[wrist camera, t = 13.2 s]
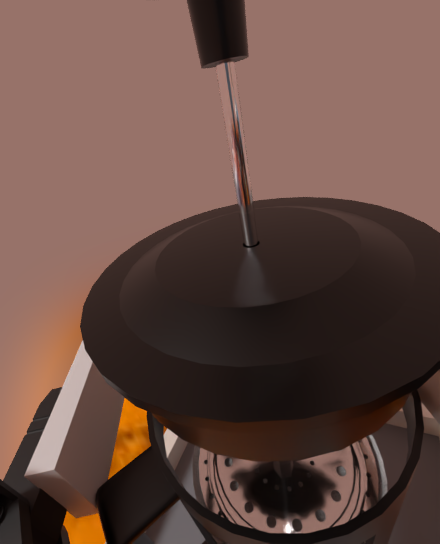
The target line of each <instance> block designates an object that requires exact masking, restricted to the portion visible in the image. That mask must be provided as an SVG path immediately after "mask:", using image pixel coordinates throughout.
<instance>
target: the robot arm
mask: <svg viewBox="0 0 440 544" xmlns="http://www.w3.org/2000/svg"><path fill="white" fill-rule="evenodd" d="M417 390H418V393H419V396H420V399H421V402H422V403H423V405H424V406H425V407H426V408H427V410H428V411H429V412H430V413H431V415H432V416H433V417H434V418H435V420H436V421H437V422H438V423H439V424H440V369H439V370H438V371H437V372H436V373H435V374H434V375H433V376H432V377H431V378H430V379H429V380H428V381H426V382H425V383H424V384H423V385H422V386H421V387H420V388H419V389H417ZM123 402H124V396H122V395H121V394H120V393H118V392H117V391H116V390H115V389H113V388H112V387H111V386H109V385H108V384H107V383H106V381H105V380H104V378H103V377H102V375H101V374H100V372H99V371H98V369H97V368H96V366H95V365H94V363H93V362H92V360H91V358H90V357H89V355H88V354H87V352H86V351H85V347H84V342H83V341H82V343H81V345H80V348H79V350H78V352H77V355H76V357H75V359H74V362H73V364H72V366H71V368H70V371H69V373H68V375H67V378H66V380H65V382H64V385H63V387H61V388H57V389H52V390H51V391H50V393H49V394H48V395H47V396H46V397H45V399H44V400H43V401H42V402H41V403H40V405H39V407H38V409H37V411H36V413H35V415H34V418H33V422H31V424H30V426H29V428H28V430H27V435H25V436H24V438H23V441H22V442H21V445H20V447H19V449H18V451H17V453H16V455H15V457H14V459H13V461H12V463H11V465H10V467H9V469H8V472H7V474H6V476H5V478H4V480H3V481H2V480H1V479H0V544H70V542H69V537H68V532H67V530H66V528H65V526H63V522H64V518H65V515H66V511H68V512H69V513H70V514H72V515H73V516H74V517H75V518H79V517H83V516H87V515H92V514H96V513H98V509H97V505H96V500H95V499H96V492H97V490H98V488H99V487H100V486H101V485H103V484H104V483H105V482H106V481H107V480H108V476H109V471H110V466H111V461H112V456H113V451H114V446H115V441H116V436H117V431H118V426H119V421H120V416H121V412H122V407H123Z"/></svg>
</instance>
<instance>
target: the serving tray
mask: <svg viewBox="0 0 440 544" xmlns="http://www.w3.org/2000/svg"><path fill="white" fill-rule="evenodd" d="M421 405H422V413H423V422H424V433H423V440H422V446H421V453H420V459H419V461H418V464H417V467H416V469H415V472H414V475H413V477H412V480H411V483H410V485H409V488H408V491H407V493H406V496H405V499H404V501H403V504H402V507H401V509H400V512H399V515H398V517H397V520H396V523H395V525H394V528H393V531H392V533H391V536H390V539H389V541H388V544H440V424H439V423H438V422H437V421H436V420H435V418H434V417H433V416H432V415H431V413H430V412H429V411H428V410H427V408H426V407H425V406H424V405H423V403H422V402H421ZM372 436H373V438H374V439H375V442H376V444H377V447H378V449H379V452H380V454H381V457H382V459H383V464H384V469H385V474H386V478H387V492H388V491H389V490H390V489H391V488H392V487H393V486H394V485H395V483H396V482H397V481H398V479H399V477H400V475H401V473H402V471H403V469H404V467H405V465H406V460H407V454H408V436H407V422H406V419H405V416H404V412H403V409H402V408H401V409H400V410H399V411H398V412H397V413H396V414H395V415H394V416H393V417H392V418H391V419H390V420H388V421H387V422H386V423H385V424H384V425H383V426H382V427H381V428H380V429H379V430H378V431H376V432H374V433H372ZM164 442H165V448H166V454H167V458H168V460H169V462H170V464H171V465H172V467H173V469H174V470H175V472H176V474H177V476H178V477H179V479H180V481H181V483H182V484H183V486H184V488H185V489H186V491H187V492H188V493H189V494H190V495H191V496H193V497H194V498H195V499H196V495H195V491H194V486H193V469H192V464H193V456H194V447H195V445H193V444H191V443H189V442H186V441H184V440H182V439H181V438H179V437H178V436H177V435H175V434H174V433H173V432H172V431H170V430H169V429H167V430H166V432H165V434H164ZM144 533H145V534H146V535H147V536H148V537H149V538H150V539H151V540H152V541H153V542H154V543H155V544H202V543H203V542H204V541H205V538H204V537H203V535H202V534H201V532H200V530H199V529H198V527H197V526H196V524H195V523H194V521H193V519H192V518H191V516H190V515H189V513H188V512H187V510H186V508H185V507H184V505H183V504H182V502H181V501H180V500H179V501H178V502H177V503H176V504H175V505H174V506H172V507H171V508H170V509H169V510H168V511H167V512H166V513H165V514H164V515H163V516H162V517H161V518H159V519H158V520H157V521H156V522H155V523H154V524H153V525H152V526H151V527H150V528H149V529H148V530H146V531H145V532H144ZM105 544H107V543H106V542H105Z"/></svg>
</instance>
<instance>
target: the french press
mask: <svg viewBox="0 0 440 544" xmlns="http://www.w3.org/2000/svg"><path fill="white" fill-rule="evenodd" d="M187 3H188V8H189V13H190V17H191V22H192V26H193V31H194V35H195V40H196V45H197V49H198V54H199V58H200V63H201V68H212V67H216V71H217V77H218V84H219V89H220V96H221V102H222V108H223V115H224V121H225V127H226V133H227V140H228V146H229V152H230V158H231V164H232V171H233V177H234V184H235V189H236V196H237V202H238V204H235V205H231V206H227V207H222V208H218V209H214V210H211V211H208V212H204V213H201V214H198V215H195V216H192V217H189V218H187V219H184V220H182V221H179V222H176V223H174V224H172V225H170V226H168V227H165V228H163V229H161V230H159V231H157V232H155V233H153V234H152V235H150V236H148V237H146V238H145V239H143V240H141V241H140V242H138V243H136V244H135V245H134V246H132V247H131V248H130V249H128V250H127V251H125V252H124V253H123V254H121V255H120V256H119V257H118V258H117V259H116V260H115V261H114V262H113V263H112V264H111V265H109V267H107V268H106V269H105V271H104V272H103V273H102V274H101V276H100V277H99V279H98V280H97V281H96V282H95V284H94V285H93V286H92V289H91V291H90V293H89V295H88V297H87V299H86V301H85V303H84V306H83V312H82V319H81V325H80V328H81V332H82V338H83V342H84V347H85V351H86V352H87V354H88V355H89V357H90V358H91V360H92V362H93V363H94V365H95V366H96V368H97V369H98V371H99V372H100V374H101V375H102V377H103V378H104V380H105V381H106V383H107V384H108V385H109V386H111V387H112V388H113V389H115V390H116V391H117V392H118V393H120V394H121V395H122V396H124V397H125V398H126V399H127V400H129V401H130V402H131V403H133V404H134V405H135V406H136V407H139V408H141V409H144V410H146V411H147V422H148V430H149V439H150V443H151V447H149V448H148V449H147V450H145V451H144V452H143V453H142V454H140V455H139V456H138V457H136V458H135V459H134V460H133V461H131V462H130V463H129V464H128V465H126V466H125V467H124V468H122V469H121V470H120V471H119V472H117V473H116V474H115V475H114V476H112V477H111V478H110V479H109V480H107V481H106V482H105V483H104V484H103V485H101V486H100V487H99V488H98V490H97V492H96V499H95V500H96V505H97V509H98V513H99V516H100V520H101V524H102V528H103V532H104V536H105V539H106V543H107V544H155V543H154V542H153V541H152V540H151V539H150V538H149V537H148V536H147V535H146V534H145V533H144V532H145V531H146V530H148V529H149V528H150V527H151V526H152V525H153V524H154V523H155V522H156V521H157V520H158V519H159V518H161V517H162V516H163V515H164V514H165V513H166V512H167V511H168V510H169V509H170V508H171V507H172V506H174V505H175V504H176V503H177V502H178V501H179V500H180V501H181V502H182V504H183V505H184V507H185V508H186V510H187V512H188V513H189V515H190V516H191V518H192V519H193V521H194V523H195V524H196V526H197V527H198V529H199V530H200V532H201V534H202V535H203V537H204V538H205V541H204V542H203V543H202V544H388V541H389V539H390V536H391V533H392V531H393V528H394V525H395V523H396V520H397V517H398V515H399V512H400V509H401V507H402V504H403V501H404V499H405V496H406V493H407V491H408V488H409V485H410V483H411V480H412V477H413V475H414V472H415V469H416V467H417V464H418V461H419V459H420V453H421V446H422V440H423V433H424V422H423V413H422V405H421V399H420V396H419V393H418V390H417V389H419V388H420V387H421V386H422V385H423V384H424V383H425V382H426V381H428V380H429V379H430V378H431V377H432V376H433V375H434V374H435V373H436V372H437V371H438V370H439V369H440V233H439V232H437V231H436V230H434V229H433V228H432V227H430V226H429V225H427V224H425V223H424V222H421V221H419V220H417V219H415V218H412V217H410V216H407V215H406V214H403V213H401V212H398V211H394V210H391V209H387V208H384V207H381V206H378V205H373V204H368V203H363V202H358V201H352V200H343V199H333V198H313V197H298V198H279V199H278V198H277V199H269V200H259V201H253V199H252V191H251V184H250V176H249V168H248V162H247V153H246V146H245V138H244V130H243V123H242V115H241V107H240V100H239V92H238V84H237V77H236V69H235V62H237V61H240V60H243V59H245V58H247V57H248V44H247V29H246V16H245V2H244V0H187ZM401 408H402V409H403V412H404V416H405V419H406V422H407V436H408V454H407V460H406V465H405V467H404V469H403V471H402V473H401V475H400V477H399V479H398V481H397V482H396V483H395V485H394V486H393V487H392V488H391V489H390V490H389V491H388V492H387V478H386V474H385V469H384V464H383V459H382V457H381V454H380V452H379V449H378V447H377V444H376V442H375V439H374V438H373V436H372V433H374V432H376V431H378V430H379V429H380V428H381V427H382V426H383V425H384V424H385V423H386V422H387V421H388V420H390V419H391V418H392V417H393V416H394V415H395V414H396V413H397V412H398V411H399V410H400V409H401ZM163 426H165V427H166V428H168V429H169V430H170V431H172V432H173V433H174V434H175V435H177V436H178V437H179V438H181V439H182V440H184V441H186V442H189V443H191V444H193V445H195V447H194V456H193V464H192V469H193V486H194V491H195V495H196V499H195V498H194V497H193V496H191V495H190V494H189V493H188V492H187V491H186V489H185V488H184V486H183V484H182V483H181V481H180V479H179V477H178V476H177V474H176V472H175V470H174V469H173V467H172V465H171V464H170V462H169V460H168V458H167V454H166V448H165V442H164V436H163Z"/></svg>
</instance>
